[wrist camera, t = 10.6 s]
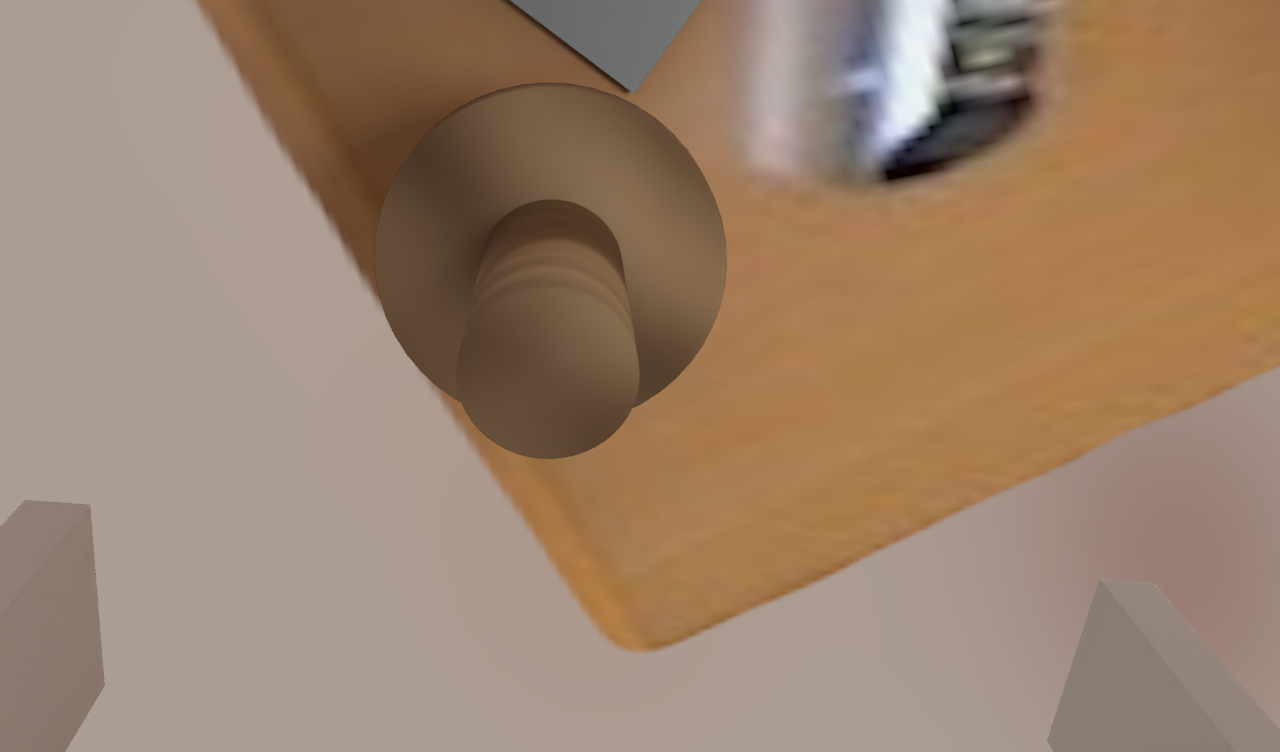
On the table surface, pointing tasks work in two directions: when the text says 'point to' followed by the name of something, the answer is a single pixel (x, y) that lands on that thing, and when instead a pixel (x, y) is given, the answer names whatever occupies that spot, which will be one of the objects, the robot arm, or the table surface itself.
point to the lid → (550, 263)
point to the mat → (615, 31)
